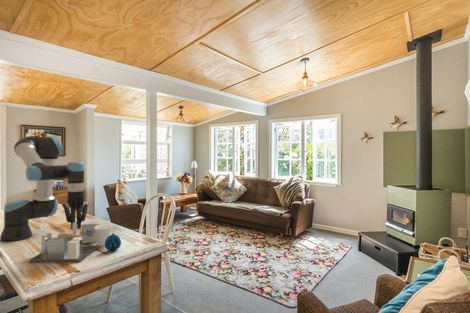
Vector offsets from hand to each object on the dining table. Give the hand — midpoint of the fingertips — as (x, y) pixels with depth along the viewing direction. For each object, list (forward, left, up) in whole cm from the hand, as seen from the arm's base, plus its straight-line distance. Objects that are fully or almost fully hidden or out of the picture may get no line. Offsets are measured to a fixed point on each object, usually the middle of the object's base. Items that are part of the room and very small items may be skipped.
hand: (76, 234), depth 136 cm
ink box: (-3, +22, -11) cm, 25 cm away
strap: (-6, 0, -2) cm, 7 cm away
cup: (+8, +15, -11) cm, 20 cm away
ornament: (+17, +6, -11) cm, 21 cm away
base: (-5, 0, -11) cm, 12 cm away
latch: (+3, -6, -9) cm, 11 cm away
